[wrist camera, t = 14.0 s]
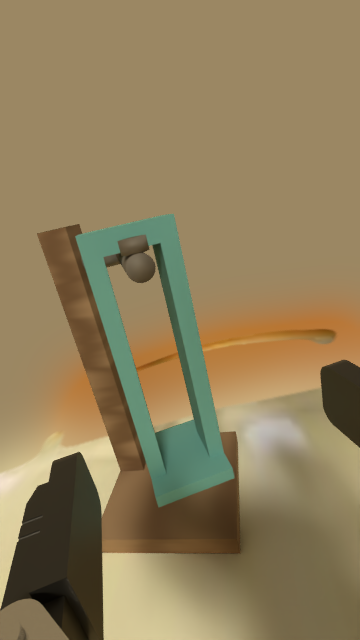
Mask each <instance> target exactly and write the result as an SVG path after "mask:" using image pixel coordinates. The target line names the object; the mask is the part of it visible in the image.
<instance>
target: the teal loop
mask: <svg viewBox="0 0 360 640" xmlns="http://www.w3.org/2000/svg"><path fill="white" fill-rule="evenodd" d="M139 235H146V238H147V242H148V246H150V245H153V249H154V253H155V257H156V262H157V266H158V270H159V274H160V279H161V283H162V287H163V291H164V295H165V300H166V303H167V308H168V312H169V316H170V320H171V324H172V329H173V333H174V337H175V341H176V346H177V350H178V354H179V358H180V362H181V367H182V371H183V375H184V379H185V383H186V388H187V392H188V396H189V400H190V404H191V408H192V413H193V417H194V420H191V421H188V422H185V423H182V424H180V425H177V426H174V427H171V428H168V429H165V430H162V431H159V432H156V433H155V432H154V429H153V425H152V422H151V419H150V415H149V412H148V409H147V405H146V401H145V398H144V395H143V391H142V388H141V384H140V381H139V377H138V374H137V371H136V367H135V364H134V360H133V357H132V353H131V350H130V347H129V344H128V340H127V336H126V333H125V330H124V326H123V323H122V319H121V316H120V313H119V309H118V306H117V302H116V299H115V295H114V292H113V289H112V285H111V282H110V278H109V275H108V271H107V268H106V264H105V261H104V258H103V257H105V256H109V255H114V254H118V253H120V249H119V246H118V242H117V241H119V240H122V239H126V238H130V237H134V236H139ZM75 237H76V241H77V244H78V247H79V250H80V253H81V257H82V260H83V263H84V266H85V269H86V272H87V276H88V279H89V282H90V285H91V288H92V292H93V295H94V298H95V301H96V304H97V308H98V311H99V314H100V317H101V320H102V323H103V327H104V330H105V333H106V336H107V339H108V343H109V346H110V349H111V352H112V355H113V358H114V362H115V365H116V368H117V371H118V374H119V378H120V381H121V384H122V387H123V390H124V393H125V397H126V400H127V403H128V406H129V409H130V413H131V416H132V419H133V422H134V425H135V428H136V432H137V435H138V438H139V441H140V444H141V448H142V451H143V454H144V457H145V460H146V464H147V467H148V470H149V473H150V476H151V479H152V484H153V489H154V493H155V498H156V501H157V504H158V507H161V506H164V505H167V504H169V503H172V502H174V501H177V500H179V499H182V498H185V497H187V496H190V495H192V494H195V493H197V492H200V491H203V490H205V489H208V488H210V487H213V486H216V485H218V484H221V483H223V482H226V481H228V480H231V479H234V473H233V468H232V466H231V464H230V462H229V461H228V459H227V457H226V455H225V454H224V451H223V446H222V441H221V436H220V432H219V427H218V422H217V417H216V413H215V408H214V403H213V398H212V394H211V389H210V384H209V380H208V375H207V370H206V365H205V360H204V356H203V351H202V346H201V342H200V337H199V332H198V327H197V322H196V318H195V313H194V308H193V303H192V298H191V294H190V289H189V284H188V280H187V275H186V270H185V265H184V261H183V256H182V251H181V247H180V241H179V237H178V232H177V228H176V223H175V218H174V214H168V215H162V216H157V217H153V218H148V219H144V220H140V221H135V222H131V223H127V224H123V225H119V226H114V227H110V228H105V229H101V230H97V231H92V232H88V233H84V234H79V235H77V236H75Z"/></svg>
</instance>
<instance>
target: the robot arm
mask: <svg viewBox="0 0 360 640" xmlns="http://www.w3.org/2000/svg"><path fill="white" fill-rule="evenodd" d="M321 384H322V385H321V386H322V398H323V407H324V411H325V413H326V415H327V417H328V419H329V420H330V422H331V423H332V424H333V425H334V426H335V427H337V428H338V429H339V430H340V431H341V432H342V433H343V434H345V435H346V436H347V437H348V438H349V439H350V440H351V441H353V442H354V443H355V444H356V445H357V446H358V447H359V448H360V367H358V366H356V365H355V364H353V363H351V362H349V361H347V360H341V361H339V362H336V363H333V364H330V365H327V366H325V367H322V369H321ZM22 524H23V525H22V526H21V529H20V533H19V537H18V539H19V542H17V545H16V549H15V553H14V557H13V561H12V565H11V569H10V574H9V578H8V582H7V586H6V590H5V594H4V598H3V602H2V606H1V609H0V640H104V638H103V577H102V515H101V504H100V499H99V495H98V492H97V489H96V486H95V484H94V482H93V479H92V477H91V475H90V472H89V470H88V467H87V465H86V463H85V460H84V458H83V456H82V454H81V453H80V452H77V453H75V454H72V455H69V456H66V457H63V458H60V459H58V460H55V461H53V463H52V467H51V473H50V478H49V482H48V483H45V484H42V485H39V486H38V487H37V488H36V490H35V491H34V493H33V495H32V496H31V498H30V499H29V501H28V503H27V504H26V508H25V512H24V516H23V521H22Z"/></svg>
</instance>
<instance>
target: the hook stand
mask: <svg viewBox="0 0 360 640" xmlns="http://www.w3.org/2000/svg"><path fill="white" fill-rule="evenodd" d="M79 234H82V232H81V229H80V225H79V224H77V225H73V226H68V227H63V228H59V229H55V230H50V231H46V232H42V233H37V235H38V238H39V241H40V243H41V246H42V249H43V252H44V255H45V258H46V261H47V263H48V266H49V269H50V272H51V274H52V277H53V280H54V283H55V286H56V289H57V291H58V294H59V297H60V300H61V303H62V306H63V309H64V311H65V314H66V317H67V320H68V322H69V326H70V328H71V331H72V334H73V337H74V339H75V343H76V345H77V348H78V351H79V353H80V357H81V359H82V362H83V365H84V368H85V371H86V374H87V376H88V379H89V382H90V385H91V387H92V391H93V393H94V396H95V399H96V402H97V405H98V407H99V410H100V413H101V415H102V419H103V422H104V424H105V427H106V430H107V433H108V436H109V439H110V441H111V444H112V447H113V450H114V453H115V455H116V458H117V461H118V464H119V467H120V470H121V471H120V474H119V476H118V479H117V481H116V484H115V486H114V489H113V491H112V494H111V496H110V499H109V501H108V504H107V506H106V509H105V511H104V514H103V516H102V552H106V553H240V517H239V475H238V442H237V436H236V432H223V433H220V436H221V441H222V446H223V451H224V454H225V455H226V457H227V459H228V461H229V462H230V464H231V466H232V468H233V473H234V479H231V480H228V481H226V482H223V483H221V484H218V485H216V486H213V487H210V488H208V489H205V490H203V491H200V492H197V493H195V494H192V495H190V496H187V497H185V498H182V499H179V500H177V501H174V502H172V503H169V504H167V505H164V506H161V507H158V504H157V501H156V498H155V493H154V489H153V484H152V479H151V476H150V473H149V470H148V467H147V464H146V460H145V457H144V454H143V451H142V448H141V444H140V441H139V438H138V435H137V432H136V428H135V425H134V422H133V419H132V416H131V413H130V409H129V406H128V403H127V400H126V397H125V393H124V390H123V387H122V384H121V381H120V378H119V374H118V371H117V368H116V365H115V362H114V358H113V355H112V352H111V349H110V346H109V343H108V339H107V336H106V333H105V330H104V327H103V323H102V320H101V317H100V314H99V311H98V308H97V304H96V301H95V298H94V295H93V292H92V288H91V285H90V282H89V279H88V276H87V272H86V269H85V266H84V263H83V260H82V257H81V253H80V250H79V247H78V244H77V241H76V237H75V236H77V235H79ZM117 242H118V246H119V249H120V253H118V254H114V255H109V256H105V257H103V258H104V261H105V264H106V267H110V266H114V265H118V264H121V265H122V267H123V268H124V270H125V272H126V273H127V275H128V276H129V278H130V279H131V280H133V281H135V282H137V283H144V282H147V281H149V280H150V279H151V278H152V277H153V275H154V273H155V263H154V261H153V259H152V258H151V257H150V256H148V255H147V254H145V253H143V252H145V251H147V250H149V246H148V242H147V238H146V235H139V236H134V237H130V238H126V239H122V240H119V241H117Z"/></svg>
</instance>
